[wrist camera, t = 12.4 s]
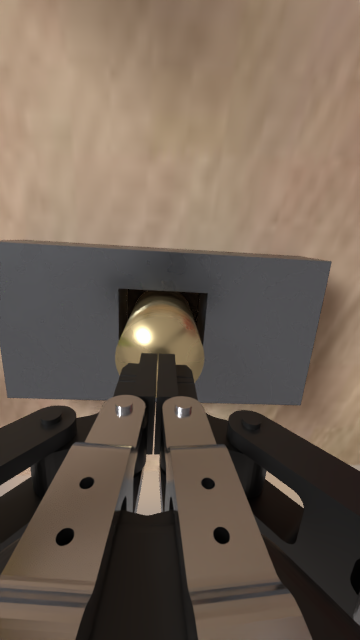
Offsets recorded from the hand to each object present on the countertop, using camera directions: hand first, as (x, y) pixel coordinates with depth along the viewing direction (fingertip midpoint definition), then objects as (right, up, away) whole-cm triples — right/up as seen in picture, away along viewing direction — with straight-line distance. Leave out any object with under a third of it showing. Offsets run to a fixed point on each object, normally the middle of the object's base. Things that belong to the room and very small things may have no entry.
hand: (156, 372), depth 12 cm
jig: (0, +3, +9) cm, 9 cm away
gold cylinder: (0, +3, +9) cm, 9 cm away
